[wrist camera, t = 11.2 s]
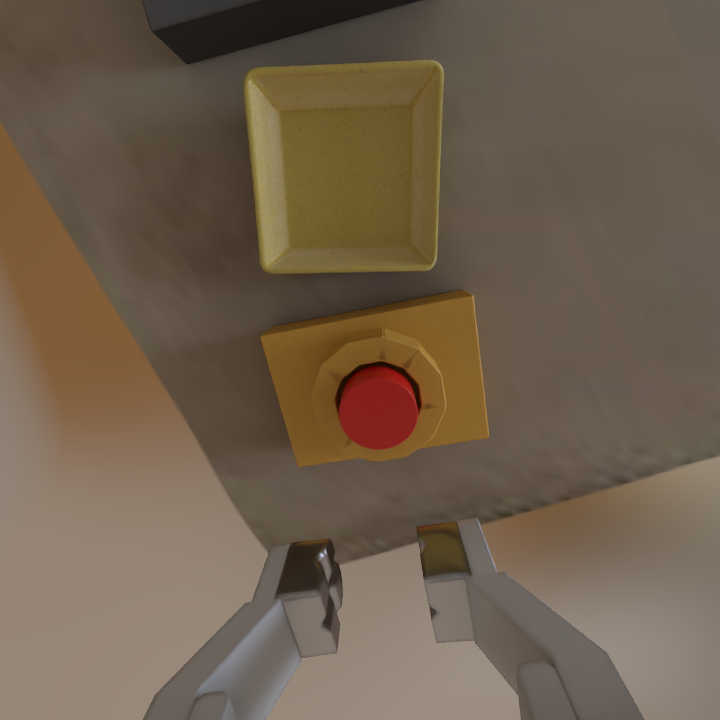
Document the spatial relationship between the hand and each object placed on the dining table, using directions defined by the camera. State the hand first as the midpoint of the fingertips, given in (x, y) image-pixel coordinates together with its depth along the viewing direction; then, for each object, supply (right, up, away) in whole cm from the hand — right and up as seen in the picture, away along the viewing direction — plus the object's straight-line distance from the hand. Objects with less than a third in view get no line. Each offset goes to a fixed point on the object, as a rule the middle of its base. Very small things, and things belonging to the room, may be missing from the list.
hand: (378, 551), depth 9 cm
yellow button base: (+1, +4, +12) cm, 13 cm away
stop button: (0, +3, +9) cm, 10 cm away
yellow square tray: (-1, +14, +10) cm, 17 cm away
